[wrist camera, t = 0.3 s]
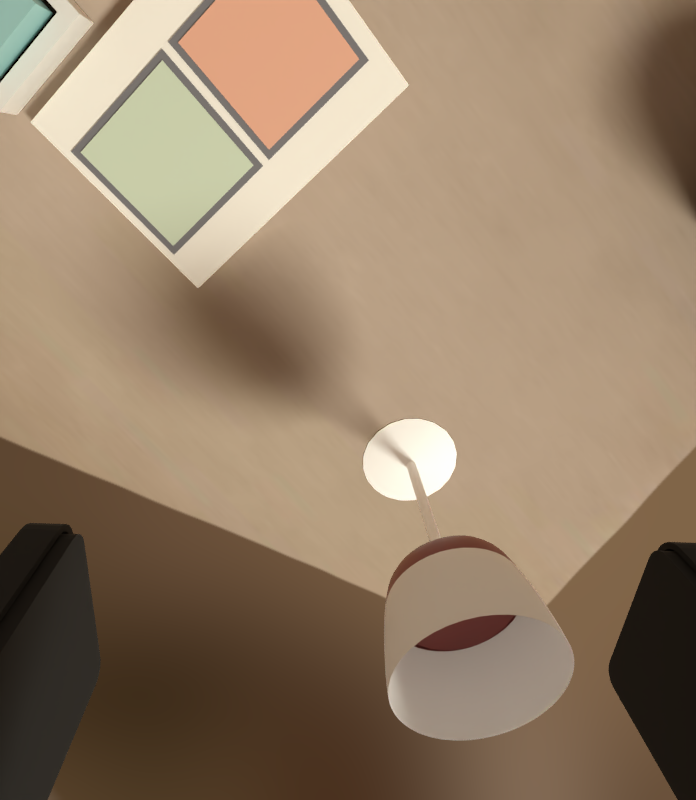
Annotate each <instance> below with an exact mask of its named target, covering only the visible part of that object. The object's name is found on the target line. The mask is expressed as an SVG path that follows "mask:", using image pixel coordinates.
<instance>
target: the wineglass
mask: <svg viewBox="0 0 696 800" xmlns="http://www.w3.org/2000/svg"><path fill="white" fill-rule="evenodd" d="M456 455H457V453H456V449H455V446H454V442H453V440H452V439H451V437H450V436H449V434H448V433H447V432H446V430H444V429H443V428H441V427H440V426H438V425H437V424H435V423H433V422H430V421H426V420H423V419H403V420H400V421H397V422H394V423H390V424H389V425H387V426H386V427H384V428H383V429H381V430H380V431H378V432H377V433H376V434H375V436H374V437H373V438H372V439H371V440H370V442H369V443H368V445H367V448H366V450H365V453H364V455H363V470H364V472H365V475H366V478H367V481H368V482H369V483H370V484H371V485H372V487H373V488H374V489H375V490H376V491H378V492H379V493H381V494H383V495H384V496H386V497H389V498H392V499H396V500H416V499H417V502H418V505H419V509H420V512H421V515H422V518H423V522H424V525H425V528H426V531H427V535H428V538H429V541H430V542H428V543H426V544H424V545H422V546H420V547H418V548H417V549H415V550H414V551H412V552H411V553H410V554H409V555H407V556H406V557H405V558H404V560H403V561H402V562H401V563H400V564H399V566H398V567H397V569H396V570H395V572H394V573H393V576H392V578H391V580H390V584H389V587H388V592H387V598H386V607H385V620H384V621H385V622H384V644H385V645H384V648H385V669H386V682H387V691H388V698H389V702H390V706H391V708H392V710H393V712H394V714H395V715H396V716H397V718H398V719H399V720H400V721H401V722H402V723H403V724H405V725H406V726H407V727H409V728H410V729H412V730H414V731H416V732H418V733H420V734H423V735H426V736H429V737H433V738H438V739H443V740H474V739H482V738H487V737H491V736H496V735H499V734H502V733H506V732H509V731H511V730H513V729H516V728H518V727H521V726H523V725H525V724H526V723H528V722H530V721H532V720H534V719H535V718H537V717H538V716H540V715H541V714H542V713H544V712H545V711H546V710H548V709H549V708H550V707H551V706H552V705H553V704H554V703H555V702H556V701H557V700H558V699H559V698H560V696H561V695H562V694H563V693H564V691H565V689H566V688H567V686H568V685H569V682H570V680H571V677H572V674H573V669H574V655H573V652H572V648H571V646H570V644H569V642H568V640H567V639H566V637H565V635H564V634H563V632H562V630H561V629H560V626H559V625H558V623H557V622H556V620H555V618H554V617H553V615H552V614H551V612H550V610H549V609H548V608H547V606H546V605H545V603H544V601H543V600H542V598H541V597H540V595H539V594H538V592H537V591H536V590H535V588H534V587H533V586H532V584H531V583H530V582H529V581H528V579H527V578H526V577H525V576H524V575H523V573H522V572H521V571H520V570H519V569H518V568H517V567H516V565H515V564H514V563H513V562H512V561H511V560H510V559H509V558H508V557H507V555H506V554H505V553H504V552H502V551H501V550H500V549H499V548H497V547H496V546H494V545H493V544H491V543H489V542H487V541H484V540H482V539H479V538H475V537H471V536H449V537H443V538H441V537H440V534H439V531H438V528H437V525H436V522H435V519H434V516H433V513H432V510H431V507H430V504H429V501H428V498H427V496H429V495H431V494H432V493H434V492H436V491H437V490H439V489H440V488H441V487H442V486H443V485H444V484H445V483H446V482H447V481H448V480H449V479H450V477H451V474H452V472H453V470H454V468H455V464H456Z"/></svg>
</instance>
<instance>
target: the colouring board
mask: <svg viewBox="0 0 696 800" xmlns="http://www.w3.org/2000/svg"><path fill="white" fill-rule="evenodd" d="M408 86H409V85H408V83H407V82H406V80H405V79H404V77H403V76H402V75H401V73H400V72H399V70H398V69H397V68H396V66H395V65H394V63H393V62H392V60H391V59H390V58H389V56H388V55H387V53H386V52H385V51H384V49H383V48H382V46H381V45H380V43H379V42H378V41H377V39H376V38H375V36H374V35H373V34H372V32H371V31H370V29H369V28H368V27H367V25H366V24H365V22H364V21H363V19H362V18H361V17H360V15H359V14H358V12H357V11H356V10H355V8H354V7H353V5H352V4H351V2H350V1H349V0H133V1H132V3H131V4H130V5H129V6H128V7H127V8H126V10H125V11H124V12H123V13H122V14H121V16H120V17H119V18H118V19H117V20H116V21H115V23H114V24H113V25H112V26H111V27H110V29H109V30H108V31H107V32H106V33H105V35H104V36H103V37H102V38H101V39H100V40H99V42H98V43H97V44H96V45H95V46H94V48H93V49H92V50H91V51H90V52H89V53H88V55H87V56H86V57H85V58H84V59H83V61H82V62H81V63H80V64H79V65H78V66H77V68H76V69H75V70H74V71H73V72H72V74H71V75H70V76H69V77H68V78H67V80H66V81H65V82H64V83H63V84H62V85H61V87H60V88H59V89H58V90H57V91H56V93H55V94H54V95H53V96H52V97H51V98H50V100H49V101H48V102H47V103H46V104H45V106H44V107H43V108H42V109H41V110H40V111H39V113H38V114H37V115H36V116H35V117H34V119H33V120H32V121H31V123H32V124H33V125H34V126H35V127H36V128H37V129H38V130H39V131H40V132H41V133H42V134H43V135H44V136H45V137H46V138H47V139H48V140H49V141H50V142H51V143H52V144H53V145H54V146H55V147H56V148H57V149H58V150H59V151H60V152H61V153H62V154H63V155H64V156H65V157H66V158H67V159H68V160H69V161H70V162H71V163H72V164H73V165H74V166H75V167H76V168H77V169H78V170H79V171H80V172H81V173H82V174H83V175H84V176H85V177H86V178H87V179H88V180H89V181H90V182H91V183H92V184H93V185H94V186H95V187H96V188H97V189H98V190H99V191H100V192H101V193H102V194H103V195H104V196H105V197H106V198H107V199H108V200H109V201H110V202H111V203H112V204H113V205H114V206H115V207H116V208H117V209H118V210H119V211H120V212H121V213H122V214H123V215H124V216H125V217H126V218H127V219H128V220H129V221H130V222H131V223H132V224H133V225H134V226H135V227H136V228H137V229H139V230H140V231H141V232H142V233H143V234H144V235H145V236H146V237H147V238H148V239H149V240H150V241H151V242H152V243H153V244H154V245H155V246H156V247H157V248H158V249H159V250H160V251H161V252H162V253H163V254H164V255H165V256H166V257H167V258H168V259H169V260H170V261H171V262H172V263H173V264H174V265H175V266H176V267H177V268H178V269H179V270H180V271H181V272H182V273H183V274H184V275H185V276H186V277H187V278H188V279H189V280H190V281H191V282H192V283H193V284H194V285H195V286H196V287H197V288H199V287H200V286H201V285H202V284H203V283H204V282H205V281H206V280H207V279H208V278H210V277H211V276H212V275H213V274H214V273H215V272H216V271H217V270H218V269H219V268H220V267H221V266H222V265H223V264H224V263H225V262H226V261H227V260H228V259H229V258H230V257H231V256H232V255H233V254H234V253H235V252H236V251H238V250H239V249H240V248H241V247H242V246H243V245H244V244H245V243H246V242H247V241H248V240H249V239H250V238H251V237H252V236H253V235H254V234H255V233H256V232H257V231H258V230H259V229H260V228H261V227H262V226H263V225H265V224H266V223H267V222H268V221H269V220H270V219H271V218H272V217H273V216H274V215H275V214H276V213H277V212H278V211H279V210H280V209H281V208H282V207H283V206H284V205H285V204H286V203H287V202H288V201H289V200H290V199H291V198H293V197H294V196H295V195H296V194H297V193H298V192H299V191H300V190H301V189H302V188H303V187H304V186H305V185H306V184H307V183H308V182H309V181H310V180H311V179H312V178H313V177H314V176H315V175H316V174H317V173H318V172H320V171H321V170H322V169H323V168H324V167H325V166H326V165H327V164H328V163H329V162H330V161H331V160H332V159H333V158H334V157H335V156H336V155H337V154H338V153H339V152H340V151H341V150H342V149H343V148H344V147H345V146H346V145H348V144H349V143H350V142H351V141H352V140H353V139H354V138H355V137H356V136H357V135H358V134H359V133H360V132H361V131H362V130H363V129H364V128H365V127H366V126H367V125H368V124H369V123H370V122H371V121H372V120H373V119H375V118H376V117H377V116H378V115H379V114H380V113H381V112H382V111H383V110H384V109H385V108H386V107H387V106H388V105H389V104H390V103H391V102H392V101H393V100H394V99H395V98H396V97H397V96H398V95H399V94H400V93H401V92H403V91H404V90H405V89H406V88H407V87H408Z"/></svg>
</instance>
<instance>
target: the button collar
mask: <svg viewBox="0 0 696 800" xmlns="http://www.w3.org/2000/svg"><path fill="white" fill-rule="evenodd" d="M47 1H48V2H49V3H50V4H51V6H52V7H53V8H54V9H55V10H56V11H57V13H56V14H55V16H54V17H53V18H52V19H51V21H50V22H49V23H48V24H47V25H46V27H45V28H44V29H43V30H42V32H41V33H40V34H39V35H38V37H37V38H36V39H35V40H34V42H33V43H32V44H31V45H30V46H29V48H28V49H27V50H26V51H25V53H24V54H23V55H22V56H21V58H20V59H19V60H18V61H17V63H16V64H15V65H14V66H13V68H12V69H11V70H10V71H9V72H8V74H7V75H6V76H5V77H4V79H3V80H2V81H1V80H0V112H2V113H8V114H14V115H18V113H19V112H20V111H21V110H22V109H23V107H24V106H25V105H26V104H27V103H28V101H29V100H30V99H31V98H32V97H33V95H34V94H35V93H36V92H37V91H38V89H39V88H40V87H41V86H42V85H43V83H44V82H45V81H46V80H47V79H48V77H49V76H50V75H51V74H52V73H53V71H54V70H55V69H56V68H57V67H58V65H59V64H60V63H61V62H62V61H63V59H64V58H65V57H66V56H67V55H68V54H69V52H70V51H71V50H72V49H73V48H74V46H75V45H76V44H77V43H78V42H79V40H80V39H81V38H82V37H83V36H84V34H85V33H86V32H87V31H88V30H89V28H90V27H91V26H92V25H93V24H94V23H93V22H92V21H91V19H90V18H89V17H88V16H87V15H86V14H85V13H84V12H83V10H82V9H81V8H80V7H79V6H78V5H77V4H76V3H75V2H74V0H47Z"/></svg>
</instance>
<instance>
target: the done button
mask: <svg viewBox="0 0 696 800" xmlns="http://www.w3.org/2000/svg"><path fill="white" fill-rule="evenodd" d="M52 15H53V13H52V12H51V11H50V10H49V8H48V7H47V6H46V5H45V4H44V3H43V2H42V1H41V0H0V79H1V78H2V76H3V75H4V74H5V73H6V71H7V70H8V69H9V68H10V67H11V65H12V64H13V63H14V62H15V60H16V59H17V58H18V57H19V55H20V54H21V53H22V52H23V50H24V49H25V48H26V47H27V45H28V44H29V43H30V42H31V41H32V39H33V38H34V37H35V36H36V34H37V33H38V32H39V31H40V29H41V28H42V27H43V26H44V24H45V23H46V22H47V21H48V19H49V18H50V17H51V16H52Z"/></svg>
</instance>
